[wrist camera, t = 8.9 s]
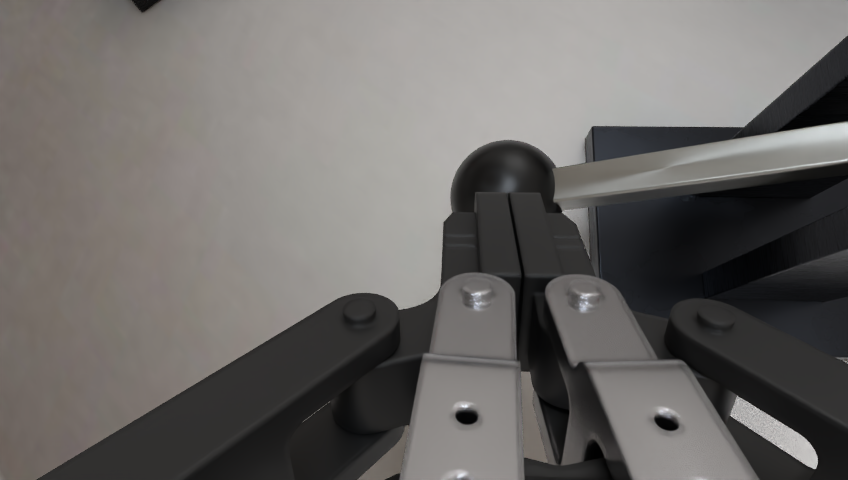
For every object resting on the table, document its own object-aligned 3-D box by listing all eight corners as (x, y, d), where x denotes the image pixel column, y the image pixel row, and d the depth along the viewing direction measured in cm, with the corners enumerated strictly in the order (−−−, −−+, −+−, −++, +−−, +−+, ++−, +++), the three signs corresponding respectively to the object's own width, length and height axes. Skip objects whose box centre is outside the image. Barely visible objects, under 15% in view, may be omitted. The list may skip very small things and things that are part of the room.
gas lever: (477, 266, 20) (428, 243, 17) (478, 172, 21) (432, 134, 18) (1035, 221, 13) (1124, 168, 10) (1000, 84, 14) (1071, -4, 11)
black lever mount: (594, 352, 21) (758, 313, 10) (584, 138, 24) (709, -93, 12) (920, 362, 21) (1492, 330, 9) (877, 140, 23) (1294, -101, 12)
